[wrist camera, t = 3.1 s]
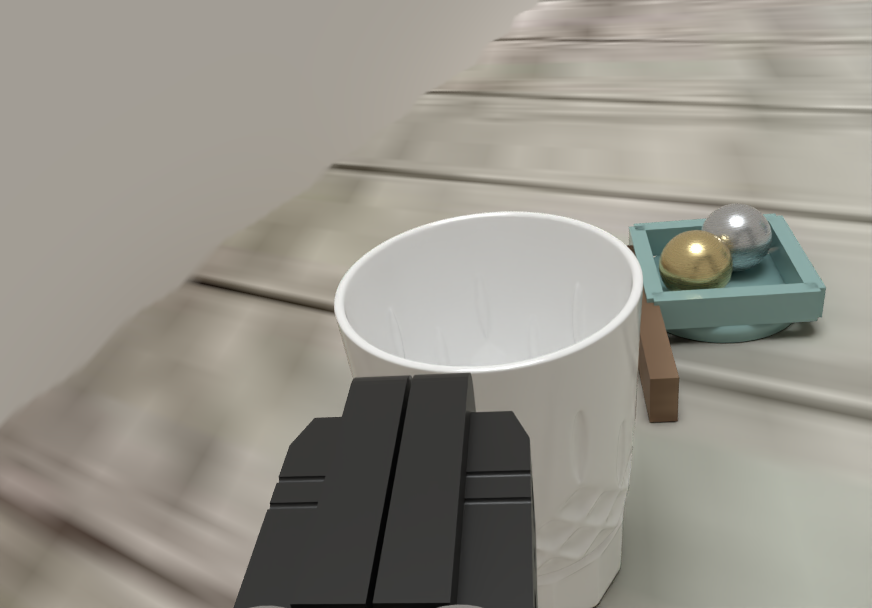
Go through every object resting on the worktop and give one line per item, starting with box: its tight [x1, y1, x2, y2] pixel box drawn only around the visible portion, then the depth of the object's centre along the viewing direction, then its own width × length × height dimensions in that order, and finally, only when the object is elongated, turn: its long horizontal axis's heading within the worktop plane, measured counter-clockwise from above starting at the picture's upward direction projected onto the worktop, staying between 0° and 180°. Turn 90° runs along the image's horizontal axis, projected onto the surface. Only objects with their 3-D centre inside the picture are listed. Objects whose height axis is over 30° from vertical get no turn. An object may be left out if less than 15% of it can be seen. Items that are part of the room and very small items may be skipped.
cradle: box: [627, 245, 679, 422], centre depth 35 cm, size 12×10×2 cm
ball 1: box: [659, 230, 733, 291], centre depth 35 cm, size 3×3×3 cm
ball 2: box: [701, 204, 772, 272], centre depth 37 cm, size 3×3×3 cm
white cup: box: [334, 212, 643, 608], centre depth 24 cm, size 8×8×10 cm
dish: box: [629, 214, 826, 343], centre depth 37 cm, size 7×7×2 cm
